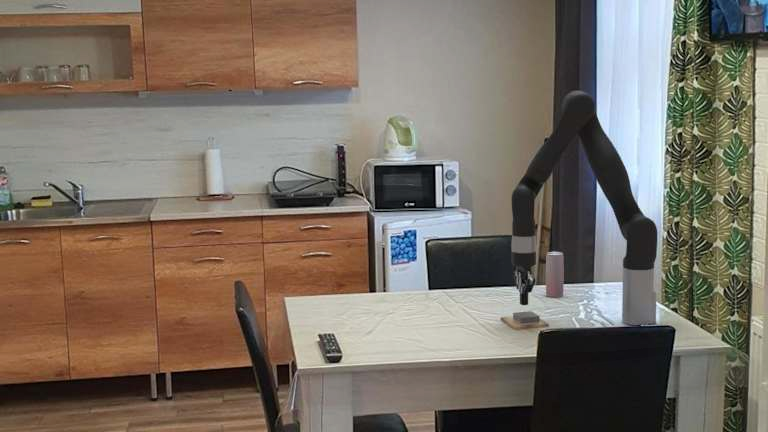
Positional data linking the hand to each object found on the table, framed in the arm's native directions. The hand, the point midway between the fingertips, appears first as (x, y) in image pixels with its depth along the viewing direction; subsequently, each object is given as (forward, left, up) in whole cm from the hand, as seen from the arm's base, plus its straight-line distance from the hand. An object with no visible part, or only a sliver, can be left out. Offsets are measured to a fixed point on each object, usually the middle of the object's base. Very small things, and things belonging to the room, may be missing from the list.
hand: (523, 304), depth 293 cm
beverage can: (-24, -30, -6) cm, 39 cm away
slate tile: (0, -1, -4) cm, 4 cm away
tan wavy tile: (0, 0, -6) cm, 6 cm away
